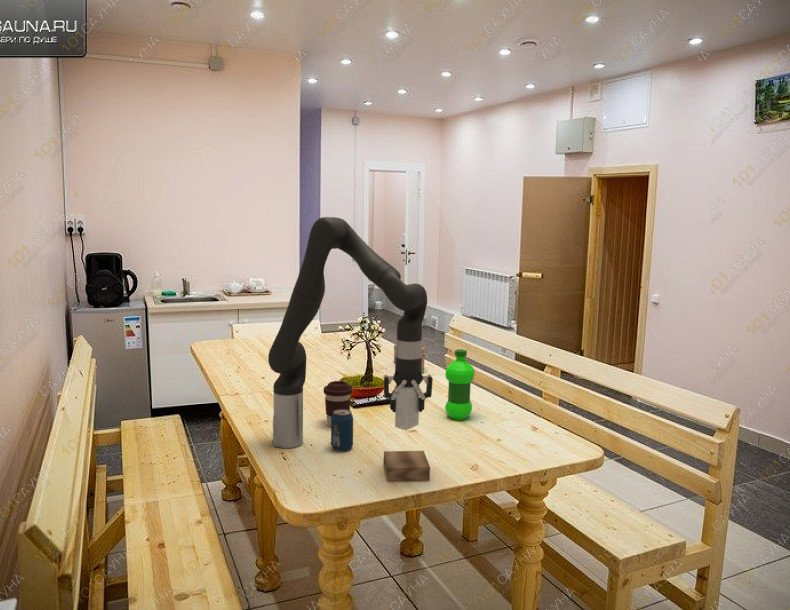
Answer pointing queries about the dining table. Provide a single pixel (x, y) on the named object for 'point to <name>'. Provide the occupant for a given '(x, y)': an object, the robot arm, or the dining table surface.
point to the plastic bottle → (459, 386)
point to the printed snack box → (422, 357)
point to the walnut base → (406, 466)
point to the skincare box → (407, 408)
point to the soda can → (342, 430)
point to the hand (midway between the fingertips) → (407, 411)
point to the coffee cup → (336, 397)
